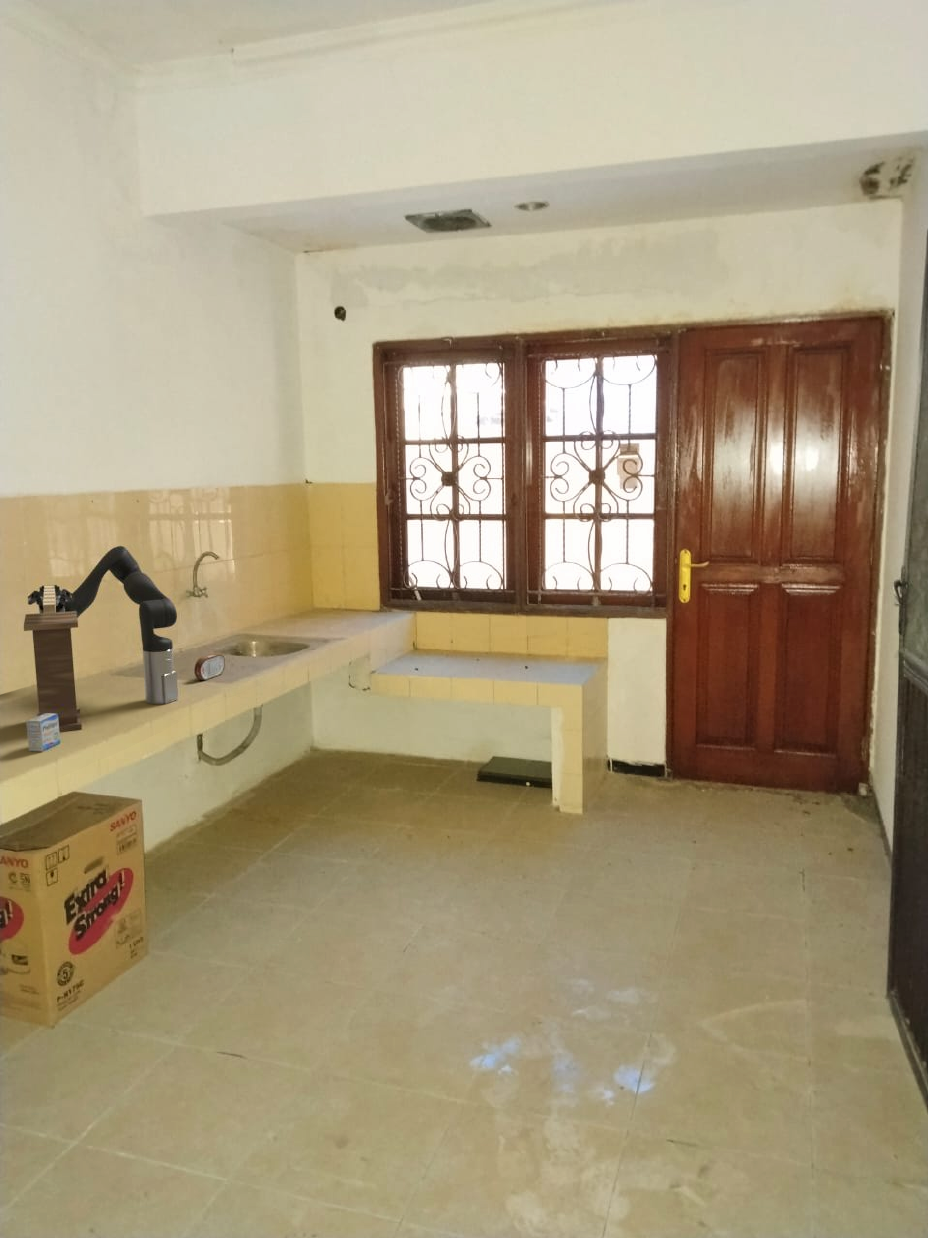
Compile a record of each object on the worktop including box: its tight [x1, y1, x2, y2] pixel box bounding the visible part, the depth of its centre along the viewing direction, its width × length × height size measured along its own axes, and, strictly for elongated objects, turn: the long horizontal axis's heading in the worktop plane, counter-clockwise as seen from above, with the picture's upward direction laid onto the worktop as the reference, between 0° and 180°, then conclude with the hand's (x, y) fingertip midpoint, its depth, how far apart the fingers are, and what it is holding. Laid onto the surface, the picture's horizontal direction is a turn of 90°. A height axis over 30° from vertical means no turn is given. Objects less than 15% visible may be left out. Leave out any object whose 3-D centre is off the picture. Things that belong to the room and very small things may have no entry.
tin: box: [194, 652, 226, 681], centre depth 327 cm, size 15×3×8 cm, turn 159°
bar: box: [43, 584, 56, 616], centre depth 267 cm, size 40×3×3 cm, turn 24°
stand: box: [23, 611, 83, 733], centre depth 268 cm, size 20×14×32 cm
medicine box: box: [25, 713, 61, 753], centre depth 249 cm, size 8×4×9 cm, turn 170°
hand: (49, 588), depth 278 cm, fingers closed on bar, 3 cm apart
